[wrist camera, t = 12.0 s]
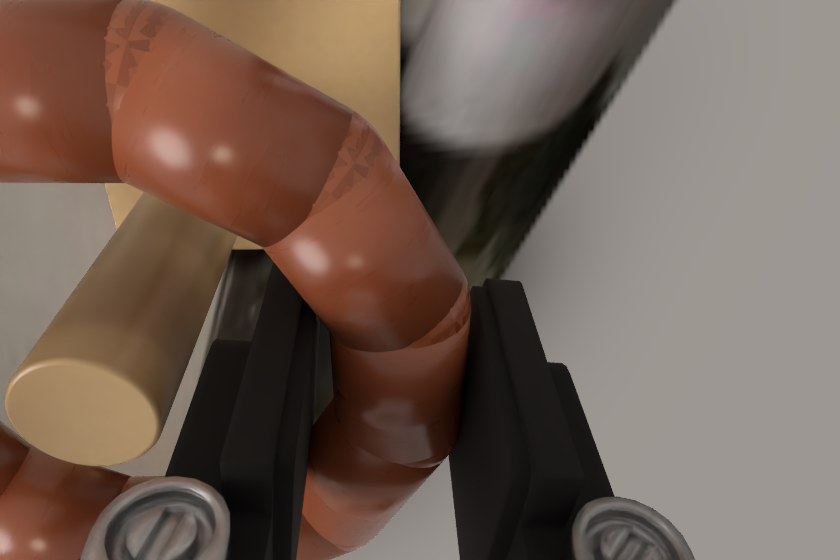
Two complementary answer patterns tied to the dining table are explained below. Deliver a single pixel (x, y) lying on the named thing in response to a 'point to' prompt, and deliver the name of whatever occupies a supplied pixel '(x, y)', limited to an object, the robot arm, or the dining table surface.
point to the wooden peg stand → (184, 245)
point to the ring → (254, 221)
